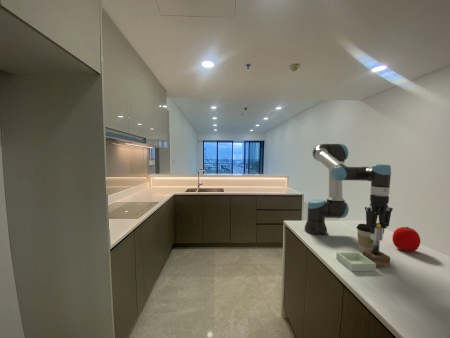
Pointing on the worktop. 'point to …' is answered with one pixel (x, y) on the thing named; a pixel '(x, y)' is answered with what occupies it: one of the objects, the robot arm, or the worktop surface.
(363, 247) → the coffee cup
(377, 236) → the pin
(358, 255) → the tray
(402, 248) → the tomato
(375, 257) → the socket block
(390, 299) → the worktop surface
